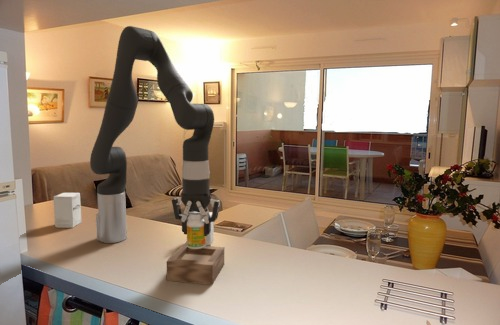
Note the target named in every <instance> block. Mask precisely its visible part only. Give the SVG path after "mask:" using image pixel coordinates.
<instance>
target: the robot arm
mask: <svg viewBox="0 0 500 325" xmlns="http://www.w3.org/2000/svg"><path fill="white" fill-rule="evenodd" d="M136 60H138V61H144V62H149V63H150V64H151V65H152V66H153V67H154V68H155V69H156V72H157V73H156V74H157V75H156V81H157V85H158V88H159V89H160V90H159V91H161V93H162V95H163V96H164V98H165V99H166V100H167V101H168V104H170V109H171V111H172V114H173V117H174V120H175V122H176V124H177V125H178V126H179V127H180V128H182V129H184V130H187V131H192V130H193V133H192V135H191V137H189V138H186V139H185V140H184V141H183V143H182V166H181V167H182V168H181V180H182V188H181V190H182V195H181V197H178V196H176V197H174V198H173V199H171V205H172V209H173V210H172V211H173V214H174V218H175V220H179V221H181V231H182V233H183V235H186V236H187V221H188V217H189V213H190V212H200V213H201V215H202V217H203V218H204V221H205V223H204V236H208V234H209V233H210V232H211V222H213V223H214V222H215V221H216V220H218V217H219V211H220V207H221V200H220V199H214V198H212V197H211V196H210V194H211V193H210V176H211V172H210V162H209V144H210V141H211V137H212V134H213V130H214V125H215V114H214V111H213V109H212V108H211V106H210V105H208V104H206V103H193V102H192V101H193V96H194V94H193V91H192V89H191V88H190V87H189V85H188V84H187V83H186V81H185V80H184V79H183V77H182V76H181V75H180V73H179V72H178V71H177V69H176V67H175V66H174V64H173V62H172V60H171V57H170V56H169V55H168V52H167V50H166V48H165V46H164V44H163V42H162V40H161V38H160V37H159V36H158V34H157V33H156V32H155V31H152V30H149V29H146V28H143V27H142V28H141V27H137V26H133V25H128V26H125V27H124V28H123V30H122V31H121V33H120V35H119V40H118V44H117V51H116V58H115V64H114V65H115V66H114V71H113V75H112V76H113V77H112V79H111V84H110V87H109V88H110V89H109V92H108V95H107V99H106V103H105V107H104V113H103V116H102V120H101V125H100V128H99V132H98V134H97V136H96V139H95V142H94V144H93V147H92V149H91V150H92V151H91V153H90V159H89V165H90V169H91V171H92V172H93V173H94V174H95V175H99V176H100V175H108V174H109V175H108V177H107V178H106V179H105V180H103V181H101V182H100V183H99V184H98V185H97V188H96V192H97V193H96V194H97V209H98V210H97V212H98V213H96V215H95V222H96V224H95V225H96V227H95V228H96V241H97V242H98V241H99V242H101V243H104V244H114V243H119V242H122V241H125V240H126V239H127V238H128V237H127V236H128V229H127V208H126V206H127V204H126V185H127V178H128V177H127V173H128V172H127V169H128V167H127V164H128V163H127V162H128V161H127V156H126V152H125V150H124V149H123V147H120V146H113V145H114V144H115V142H116V140H117V139H118V137H119V136H121V135H122V133H123V132H124V131H125V130H127V128H128V127H129V126H130V125H131V123H132V122H133V121H134V117H135V115H136V112H137V107H138V105H139V98H138V94H137V90H136V87H135V85H134V84H135V83H134V80H133V68H134V63H135V62H136ZM182 203H183V206H185V209H184V211H183V213H182V208H181V204H182ZM209 205H211V208H212V211H211V212H212V217H210V214H209V212H210V210H209V208H208V206H209Z"/></svg>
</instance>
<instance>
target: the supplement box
mask: <svg viewBox="0 0 500 325" xmlns="http://www.w3.org/2000/svg"><path fill="white" fill-rule="evenodd" d="M52 199H53V213H54V226H55V228H57V229H58V228H59V229H60V228H64V229H66V228H67V229H69V228H71V229H72V228H75V227H76V226H77V225H79V224H81V223H82V209H81V208H82V207H81V203H82V202H81V193H80V192H61V193H59V194H57V195H54V196H53V198H52Z"/></svg>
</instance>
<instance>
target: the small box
mask: <svg viewBox="0 0 500 325" xmlns="http://www.w3.org/2000/svg"><path fill="white" fill-rule="evenodd" d="M212 212H213V211H209V214H210V217H212ZM188 220H190V219H189V217H188ZM203 220H204V218H203ZM214 230H215V229H214V222H211V232H210V233H209V234H208V236H206V246H212V244H213V242H214V240H215V238H214V236H215V234H214V232H215V231H214Z"/></svg>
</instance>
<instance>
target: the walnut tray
mask: <svg viewBox="0 0 500 325" xmlns="http://www.w3.org/2000/svg"><path fill="white" fill-rule="evenodd" d="M224 266H225V246H215V245H206V246H205V247H203V248H200V249H191V248H189V247H187V243H183V244H182V245H181V246H180V247H179V248H178V249H177V250H176V251H175V252H174V253H172V255H171V256H170V257H169V258H168V259H167V260H166V281H169V282H170V281H171V282H180V283H182V282H183V283H192V284H201V285H202V284H204V285H214V283H215V282H214V281H216V279H218V277H219V275H220V273H221V271H222V270H223V268H224Z"/></svg>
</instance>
